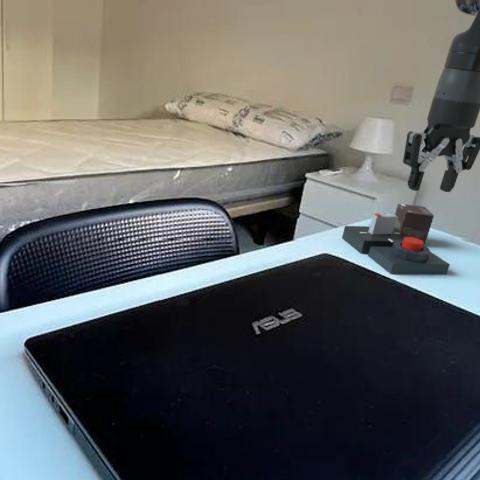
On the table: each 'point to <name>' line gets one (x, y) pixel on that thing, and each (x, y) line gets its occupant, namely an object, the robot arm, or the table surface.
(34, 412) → the table surface
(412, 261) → the button block
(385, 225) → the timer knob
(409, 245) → the power button
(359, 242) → the panel
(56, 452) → the table surface
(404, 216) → the box
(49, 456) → the table surface
